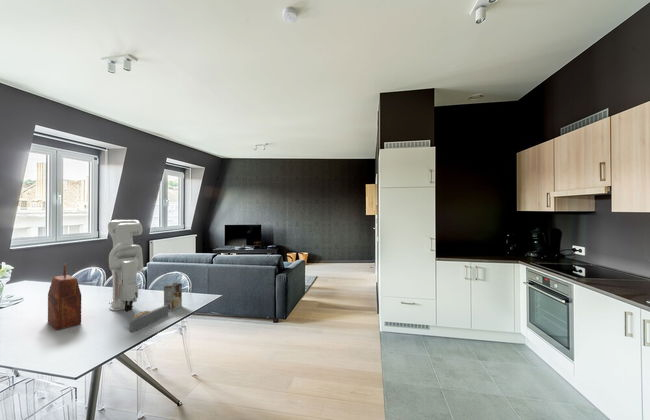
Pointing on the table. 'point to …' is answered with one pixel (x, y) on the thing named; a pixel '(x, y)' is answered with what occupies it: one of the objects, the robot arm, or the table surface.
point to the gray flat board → (148, 318)
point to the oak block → (141, 314)
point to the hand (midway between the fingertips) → (128, 310)
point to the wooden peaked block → (64, 302)
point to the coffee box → (173, 296)
